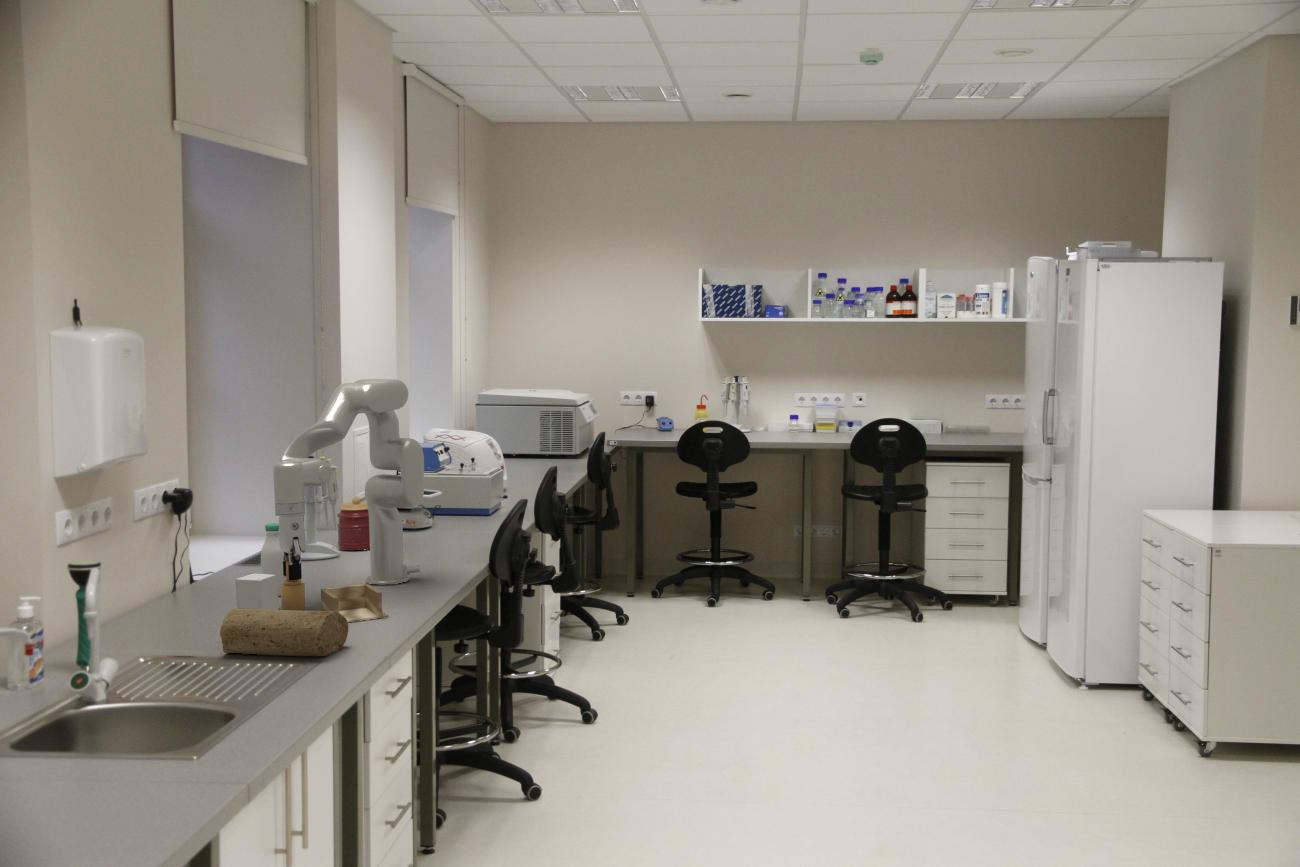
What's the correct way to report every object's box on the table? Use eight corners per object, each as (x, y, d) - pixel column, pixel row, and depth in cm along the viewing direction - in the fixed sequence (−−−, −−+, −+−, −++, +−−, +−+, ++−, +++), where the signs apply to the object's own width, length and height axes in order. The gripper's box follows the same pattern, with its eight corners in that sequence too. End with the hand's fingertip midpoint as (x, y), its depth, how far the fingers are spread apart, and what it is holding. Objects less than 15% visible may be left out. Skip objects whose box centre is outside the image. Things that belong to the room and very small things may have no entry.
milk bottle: (282, 597, 328) (279, 526, 326) (256, 596, 330) (253, 525, 328) (295, 591, 336) (293, 522, 334) (270, 590, 337) (268, 521, 336)
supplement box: (280, 623, 299) (278, 574, 298) (261, 630, 292) (259, 580, 291) (255, 621, 301) (253, 572, 300) (236, 628, 294) (234, 578, 293)
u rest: (372, 607, 316) (371, 582, 315) (388, 617, 304) (387, 592, 303) (315, 614, 308) (315, 589, 308) (330, 625, 296) (329, 599, 296)
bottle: (302, 608, 315) (300, 553, 313) (308, 613, 309) (306, 556, 308) (279, 611, 312) (277, 555, 310) (284, 616, 307) (282, 559, 305)
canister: (372, 551, 397) (370, 499, 395) (333, 552, 397) (331, 499, 396) (381, 544, 410) (379, 494, 408) (344, 545, 410) (342, 494, 409)
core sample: (244, 642, 281) (242, 601, 281) (350, 646, 277) (348, 604, 276) (214, 658, 268) (212, 615, 267) (324, 662, 264) (323, 618, 263)
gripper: (312, 511, 303) (315, 581, 304) (296, 503, 318) (299, 570, 319) (282, 514, 299) (285, 585, 301) (268, 506, 314) (270, 573, 315)
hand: (292, 576), depth 310 cm, fingers open, 5 cm apart
